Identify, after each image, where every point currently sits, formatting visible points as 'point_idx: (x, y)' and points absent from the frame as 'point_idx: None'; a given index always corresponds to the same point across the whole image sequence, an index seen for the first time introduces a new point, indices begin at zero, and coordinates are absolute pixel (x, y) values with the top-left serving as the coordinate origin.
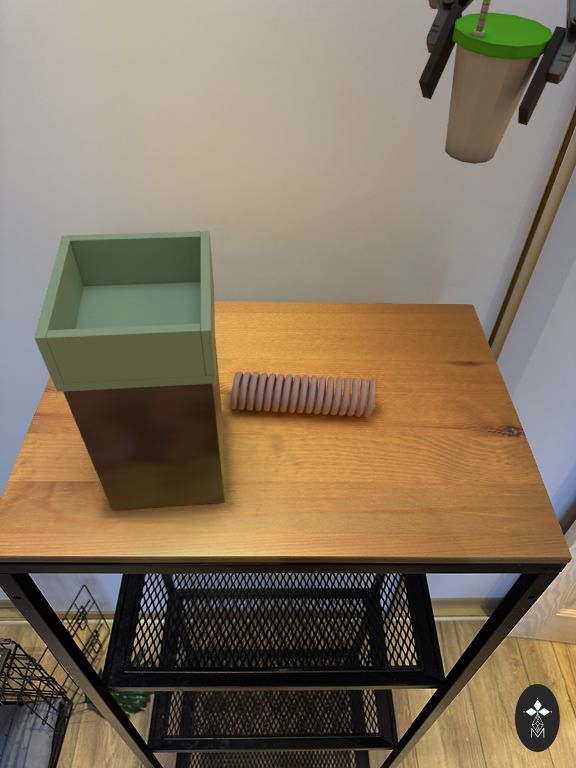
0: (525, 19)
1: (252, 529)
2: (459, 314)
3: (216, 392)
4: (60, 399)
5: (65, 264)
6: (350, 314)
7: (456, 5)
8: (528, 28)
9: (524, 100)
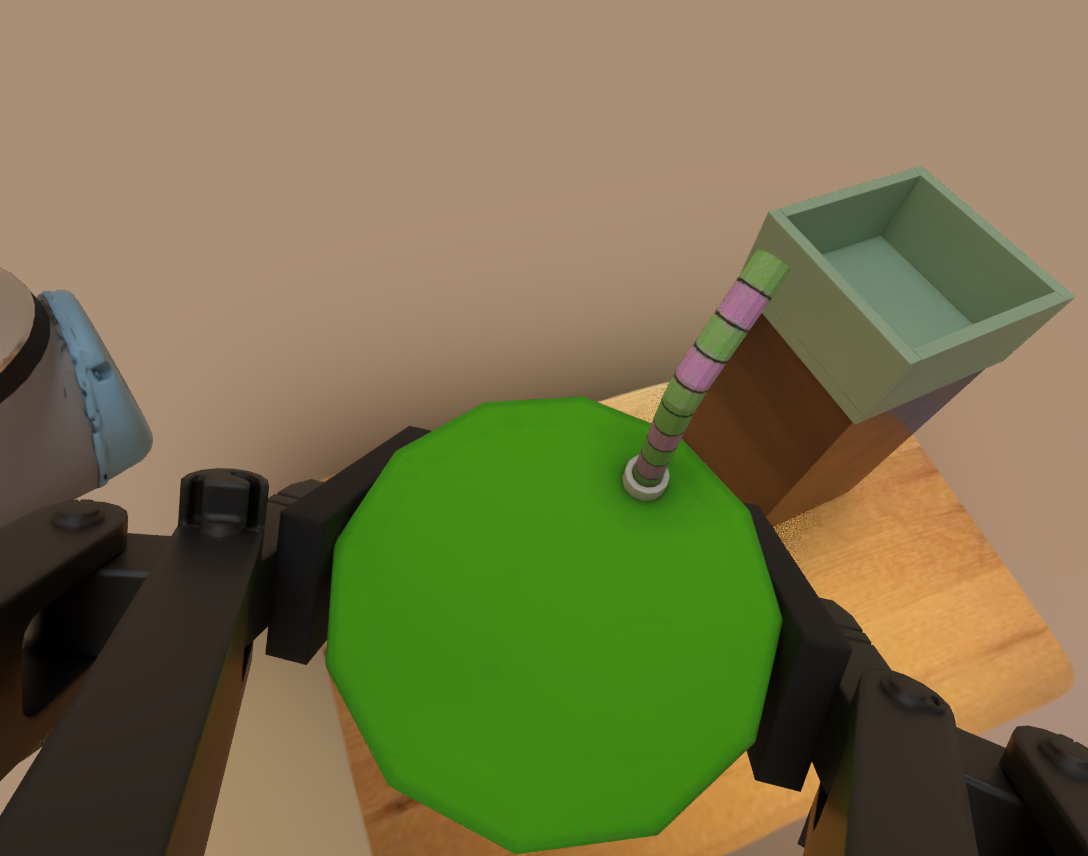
0: (452, 795)
1: (631, 415)
2: None
3: (745, 382)
4: (940, 496)
5: (1012, 259)
6: None
7: (827, 642)
8: (436, 667)
9: (423, 435)
